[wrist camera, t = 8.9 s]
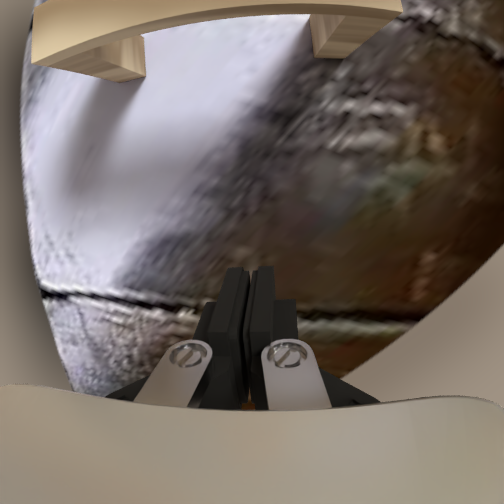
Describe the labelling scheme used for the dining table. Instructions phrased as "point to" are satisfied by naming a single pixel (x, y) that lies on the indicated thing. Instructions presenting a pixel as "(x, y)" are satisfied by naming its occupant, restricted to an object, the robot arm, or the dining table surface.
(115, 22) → the bridge
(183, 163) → the dining table surface
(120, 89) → the dining table surface
